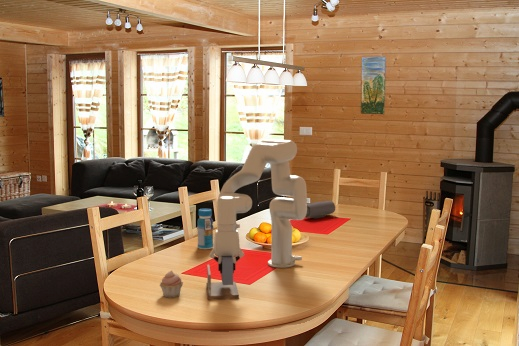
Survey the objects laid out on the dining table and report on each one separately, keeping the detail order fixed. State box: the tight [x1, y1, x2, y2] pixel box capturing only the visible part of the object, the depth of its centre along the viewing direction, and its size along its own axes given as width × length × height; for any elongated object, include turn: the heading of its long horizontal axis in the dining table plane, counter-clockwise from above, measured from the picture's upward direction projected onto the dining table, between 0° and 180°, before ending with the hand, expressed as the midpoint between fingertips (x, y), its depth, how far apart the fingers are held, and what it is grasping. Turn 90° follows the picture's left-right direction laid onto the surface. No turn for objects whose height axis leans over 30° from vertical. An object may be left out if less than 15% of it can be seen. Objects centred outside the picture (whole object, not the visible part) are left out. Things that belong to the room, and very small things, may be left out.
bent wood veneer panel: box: [205, 264, 240, 301], centre depth 232 cm, size 12×16×10 cm
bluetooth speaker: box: [305, 200, 336, 220], centre depth 374 cm, size 23×9×10 cm, turn 130°
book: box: [220, 256, 234, 285], centre depth 231 cm, size 4×12×10 cm, turn 7°
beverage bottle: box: [196, 208, 214, 250], centre depth 298 cm, size 8×8×20 cm
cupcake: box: [159, 270, 184, 299], centre depth 228 cm, size 9×9×10 cm
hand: (226, 271), depth 232 cm, fingers closed on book, 4 cm apart
